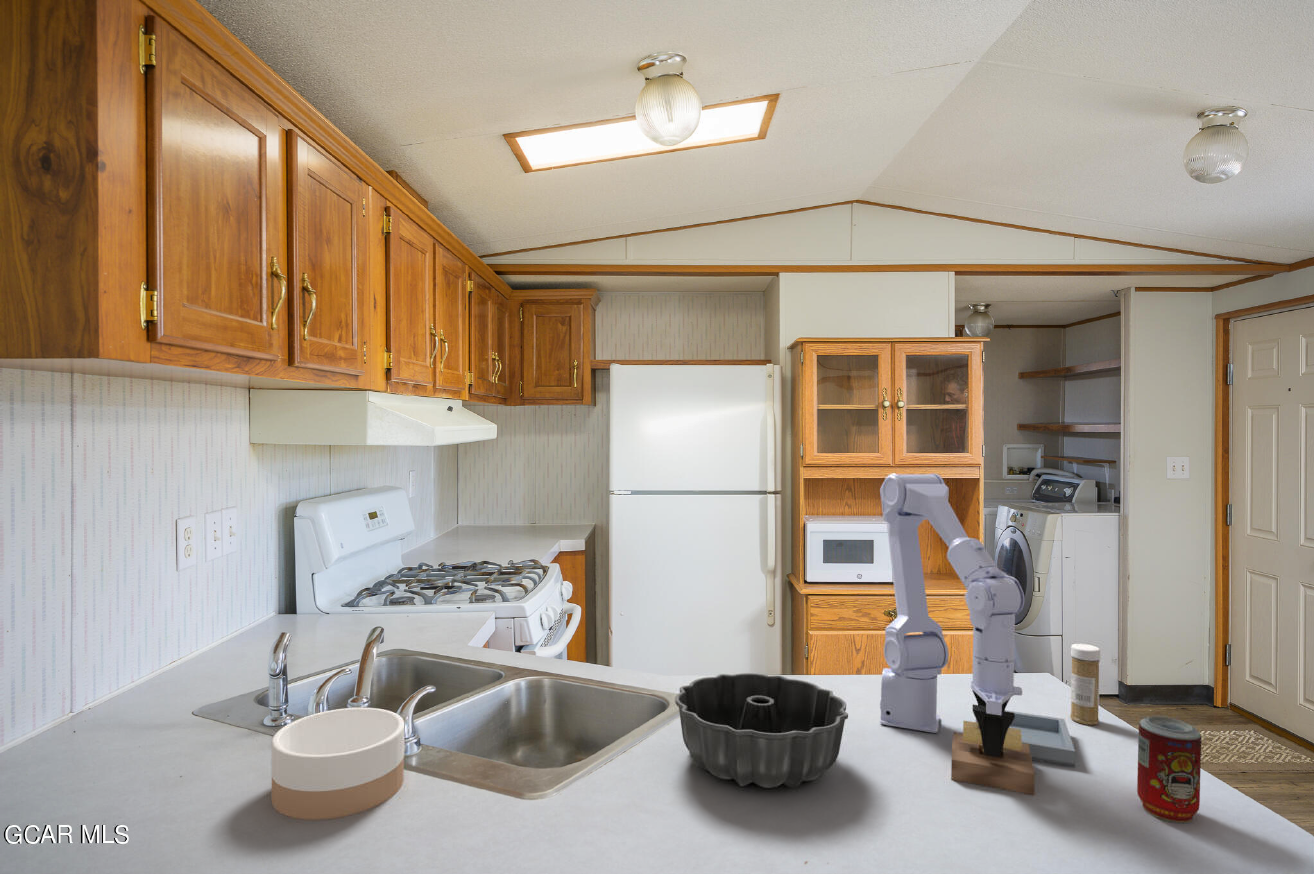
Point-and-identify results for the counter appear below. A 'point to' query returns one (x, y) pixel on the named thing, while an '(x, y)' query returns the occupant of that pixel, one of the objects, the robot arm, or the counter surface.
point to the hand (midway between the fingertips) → (991, 745)
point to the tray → (1045, 738)
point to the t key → (974, 736)
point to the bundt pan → (761, 728)
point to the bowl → (337, 763)
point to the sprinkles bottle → (1085, 684)
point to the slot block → (992, 766)
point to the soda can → (1169, 768)
